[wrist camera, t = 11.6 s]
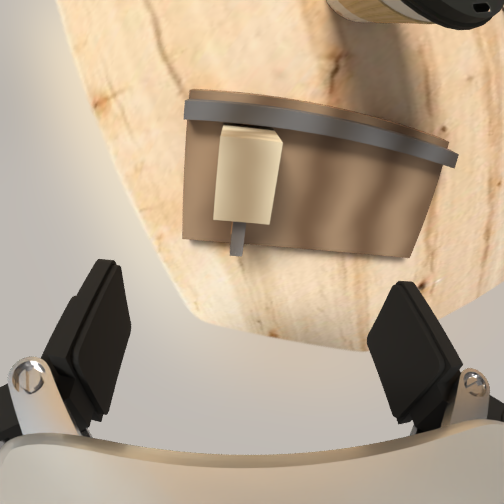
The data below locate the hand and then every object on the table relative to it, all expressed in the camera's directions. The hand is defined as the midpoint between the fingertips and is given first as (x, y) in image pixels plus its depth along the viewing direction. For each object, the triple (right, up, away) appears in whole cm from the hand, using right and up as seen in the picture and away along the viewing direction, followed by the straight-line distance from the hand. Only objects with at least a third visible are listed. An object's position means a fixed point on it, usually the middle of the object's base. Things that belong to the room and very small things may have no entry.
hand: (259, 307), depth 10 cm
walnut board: (+6, +9, +18) cm, 21 cm away
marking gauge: (-1, +8, +16) cm, 18 cm away
